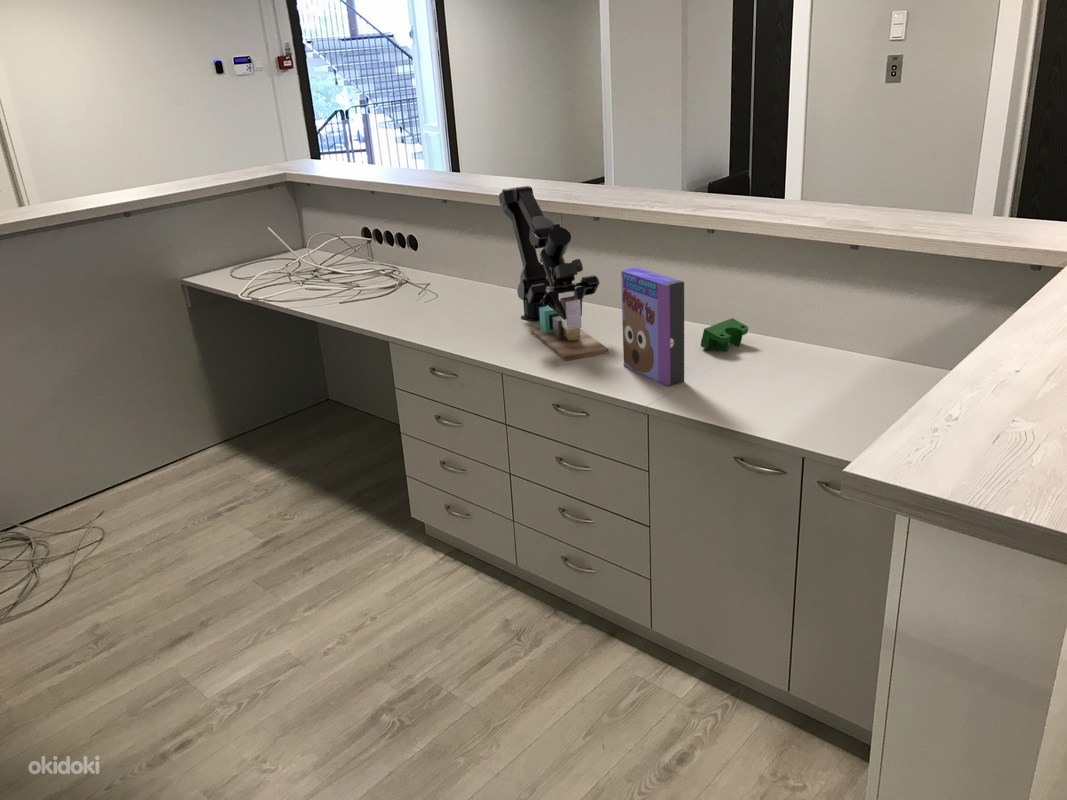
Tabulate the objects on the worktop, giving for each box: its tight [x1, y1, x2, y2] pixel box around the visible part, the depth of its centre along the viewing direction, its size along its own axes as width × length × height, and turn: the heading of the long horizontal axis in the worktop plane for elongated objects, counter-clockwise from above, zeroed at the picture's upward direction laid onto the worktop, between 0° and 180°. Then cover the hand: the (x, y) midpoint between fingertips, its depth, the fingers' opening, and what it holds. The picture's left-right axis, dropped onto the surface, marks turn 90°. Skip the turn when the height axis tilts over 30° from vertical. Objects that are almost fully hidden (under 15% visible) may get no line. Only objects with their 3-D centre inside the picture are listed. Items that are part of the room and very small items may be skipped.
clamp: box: [700, 317, 749, 353], centre depth 221 cm, size 12×6×9 cm, turn 124°
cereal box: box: [620, 267, 685, 388], centre depth 204 cm, size 17×5×24 cm, turn 29°
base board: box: [530, 327, 610, 362], centre depth 233 cm, size 26×12×1 cm, turn 20°
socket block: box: [539, 305, 557, 333], centre depth 240 cm, size 4×7×6 cm, turn 110°
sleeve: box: [553, 316, 567, 341], centre depth 233 cm, size 4×5×5 cm
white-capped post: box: [549, 295, 582, 341], centre depth 233 cm, size 16×4×10 cm, turn 20°
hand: (572, 317), depth 226 cm, fingers closed on white-capped post, 4 cm apart
